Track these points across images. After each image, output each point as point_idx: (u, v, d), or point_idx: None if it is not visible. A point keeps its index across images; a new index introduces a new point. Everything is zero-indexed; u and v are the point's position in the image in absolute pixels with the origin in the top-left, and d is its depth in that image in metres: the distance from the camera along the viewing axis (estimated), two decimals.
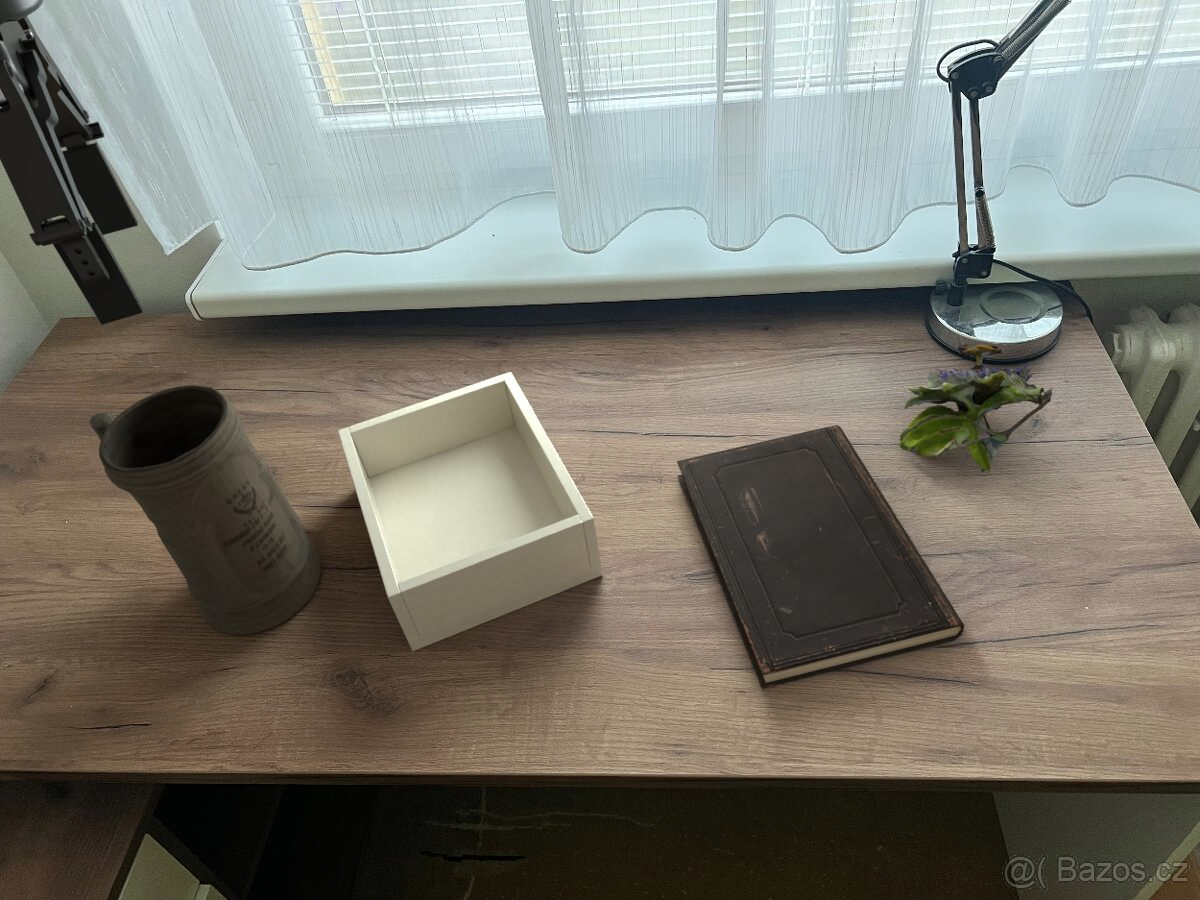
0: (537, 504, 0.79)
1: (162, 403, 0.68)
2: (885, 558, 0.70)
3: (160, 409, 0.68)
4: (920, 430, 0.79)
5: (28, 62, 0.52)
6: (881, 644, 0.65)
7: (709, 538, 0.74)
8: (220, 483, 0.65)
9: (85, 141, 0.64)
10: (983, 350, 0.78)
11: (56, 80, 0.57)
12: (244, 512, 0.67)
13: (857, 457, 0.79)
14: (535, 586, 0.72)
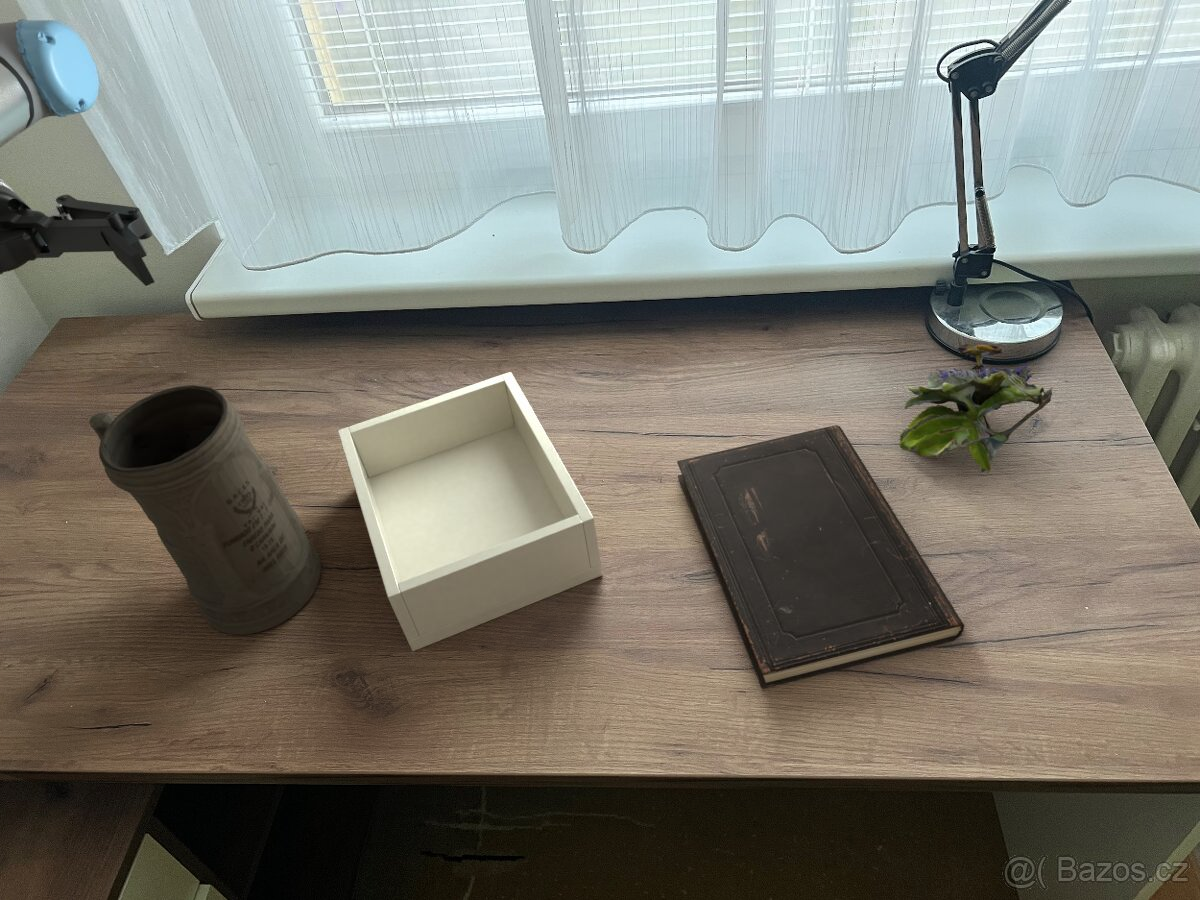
0: (537, 504, 0.79)
1: (162, 403, 0.68)
2: (885, 558, 0.70)
3: (160, 409, 0.68)
4: (920, 430, 0.79)
5: None
6: (881, 644, 0.65)
7: (709, 538, 0.74)
8: (220, 483, 0.65)
9: None
10: (983, 350, 0.78)
11: None
12: (244, 512, 0.67)
13: (857, 457, 0.79)
14: (535, 586, 0.72)
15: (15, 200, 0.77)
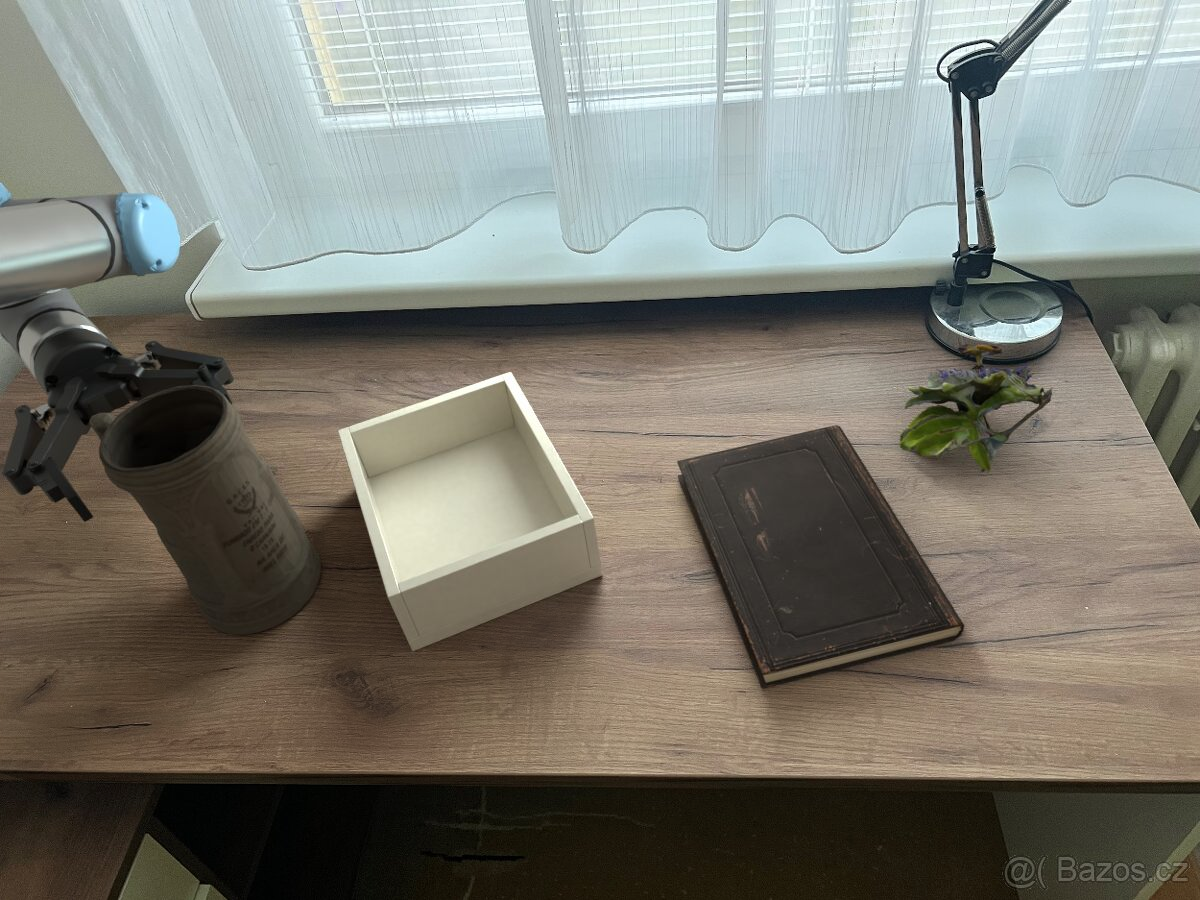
0: (537, 504, 0.79)
1: (162, 403, 0.68)
2: (885, 558, 0.70)
3: (160, 409, 0.68)
4: (920, 430, 0.79)
5: None
6: (881, 644, 0.65)
7: (709, 538, 0.74)
8: (220, 483, 0.65)
9: None
10: (983, 350, 0.78)
11: (89, 428, 0.81)
12: (244, 512, 0.67)
13: (857, 457, 0.79)
14: (535, 586, 0.72)
15: (108, 347, 0.85)
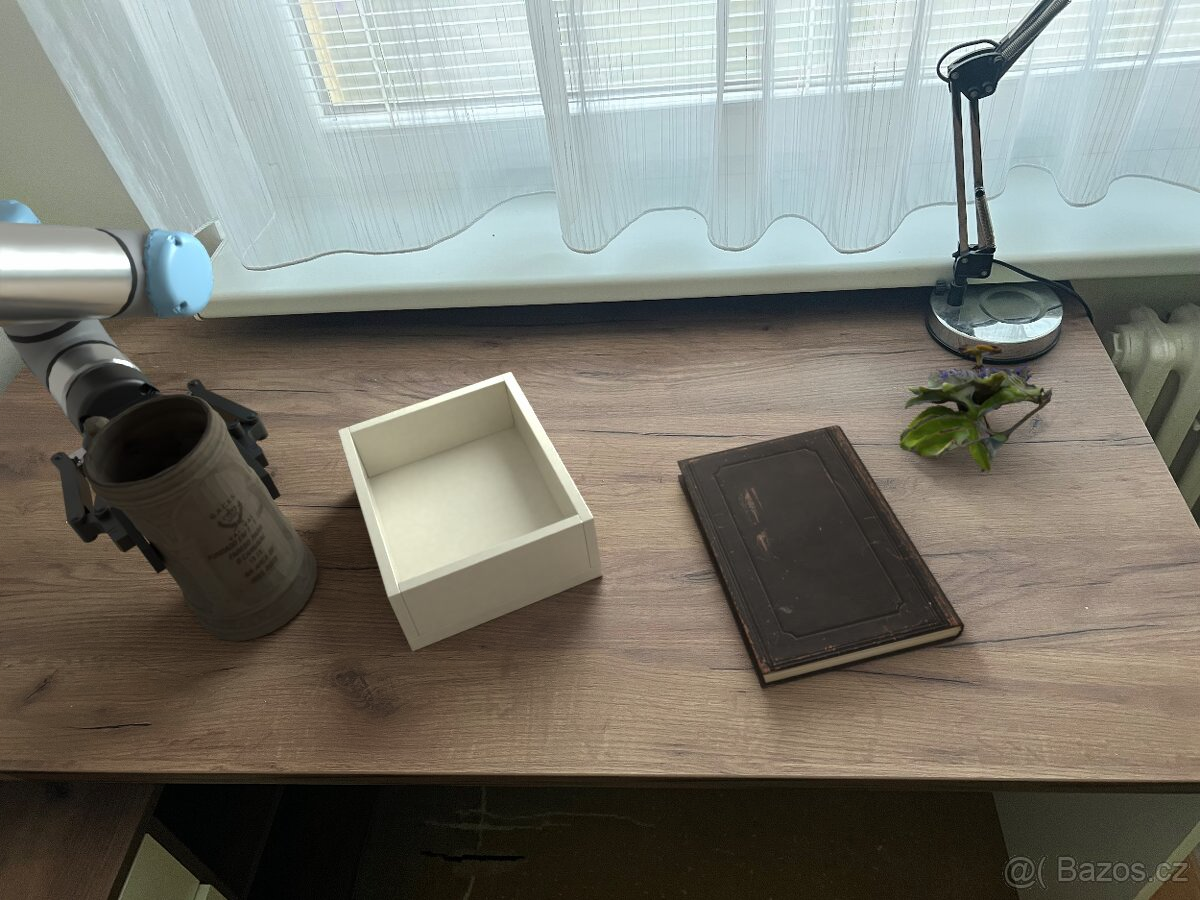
0: (537, 504, 0.79)
1: (152, 410, 0.67)
2: (885, 558, 0.70)
3: (150, 416, 0.67)
4: (920, 430, 0.79)
5: None
6: (881, 644, 0.65)
7: (709, 538, 0.74)
8: (202, 499, 0.63)
9: None
10: (983, 350, 0.78)
11: None
12: (229, 526, 0.66)
13: (857, 457, 0.79)
14: (535, 586, 0.72)
15: (145, 383, 0.79)
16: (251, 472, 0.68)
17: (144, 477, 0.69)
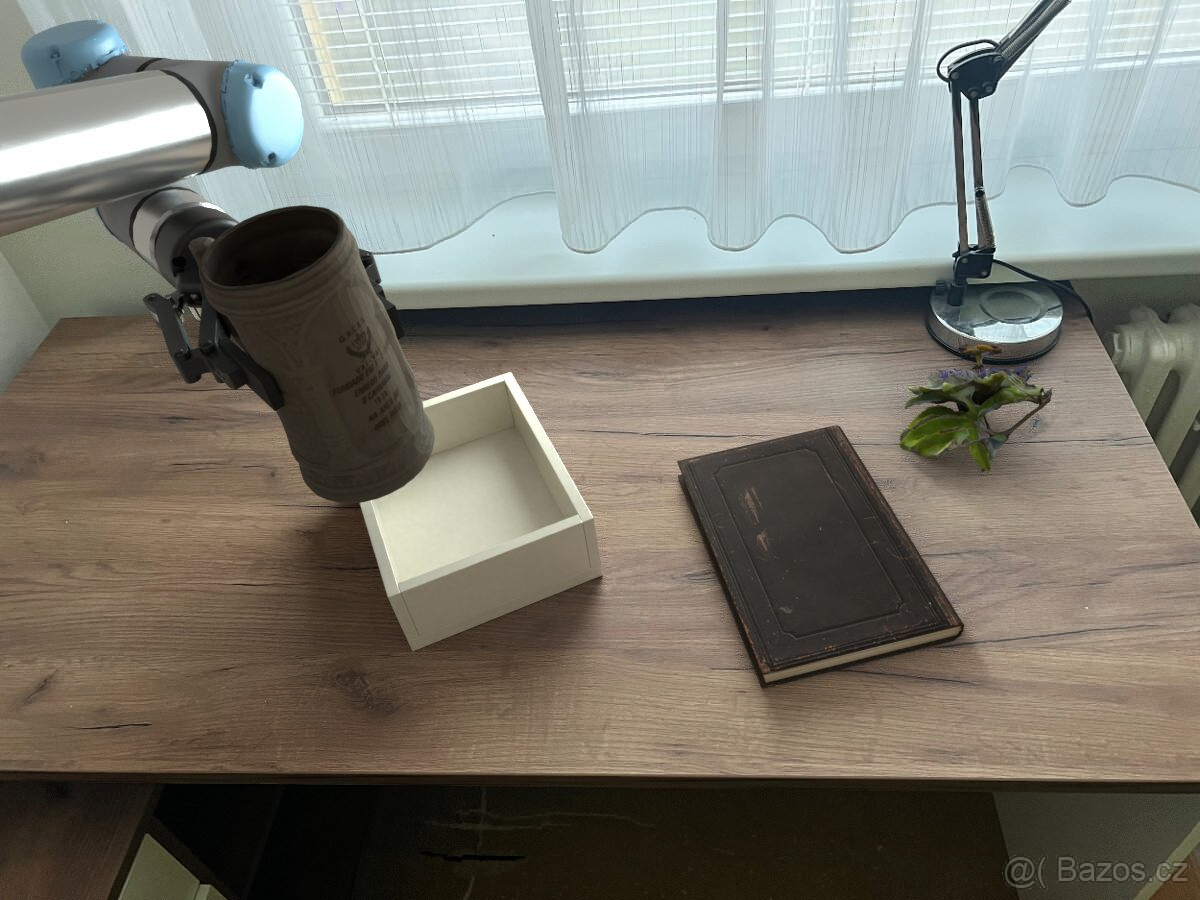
0: (537, 504, 0.79)
1: (269, 226, 0.59)
2: (885, 558, 0.70)
3: (266, 233, 0.59)
4: (920, 430, 0.79)
5: None
6: (881, 644, 0.65)
7: (709, 538, 0.74)
8: (333, 315, 0.55)
9: None
10: (983, 350, 0.78)
11: None
12: (358, 355, 0.58)
13: (857, 457, 0.79)
14: (535, 586, 0.72)
15: None
16: (378, 299, 0.60)
17: None
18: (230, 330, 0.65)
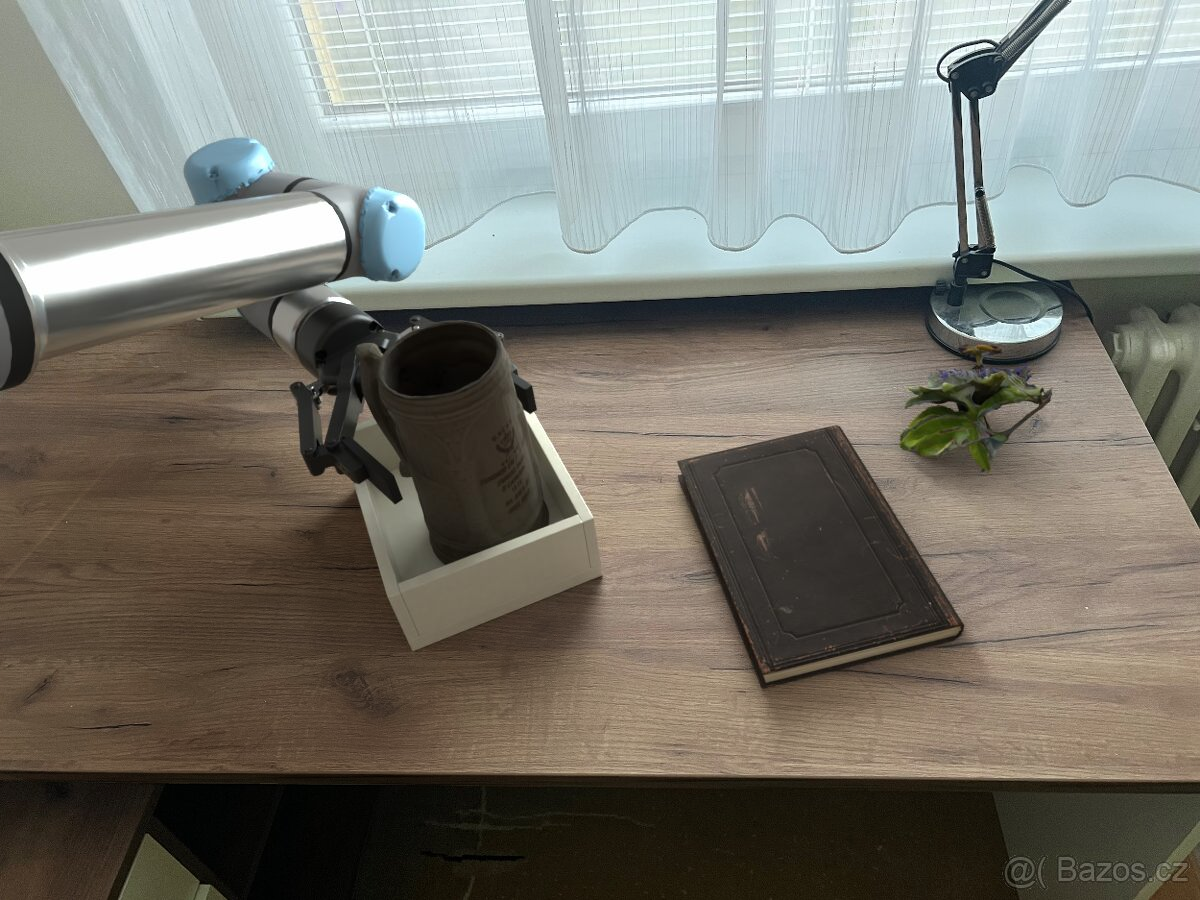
0: None
1: (429, 336, 0.68)
2: (885, 558, 0.70)
3: (425, 343, 0.68)
4: (920, 430, 0.79)
5: None
6: (881, 644, 0.65)
7: (709, 538, 0.74)
8: (490, 419, 0.64)
9: None
10: (983, 350, 0.78)
11: (362, 406, 0.77)
12: (504, 451, 0.67)
13: (857, 457, 0.79)
14: (535, 586, 0.72)
15: (371, 322, 0.80)
16: (519, 401, 0.69)
17: None
18: (378, 419, 0.74)
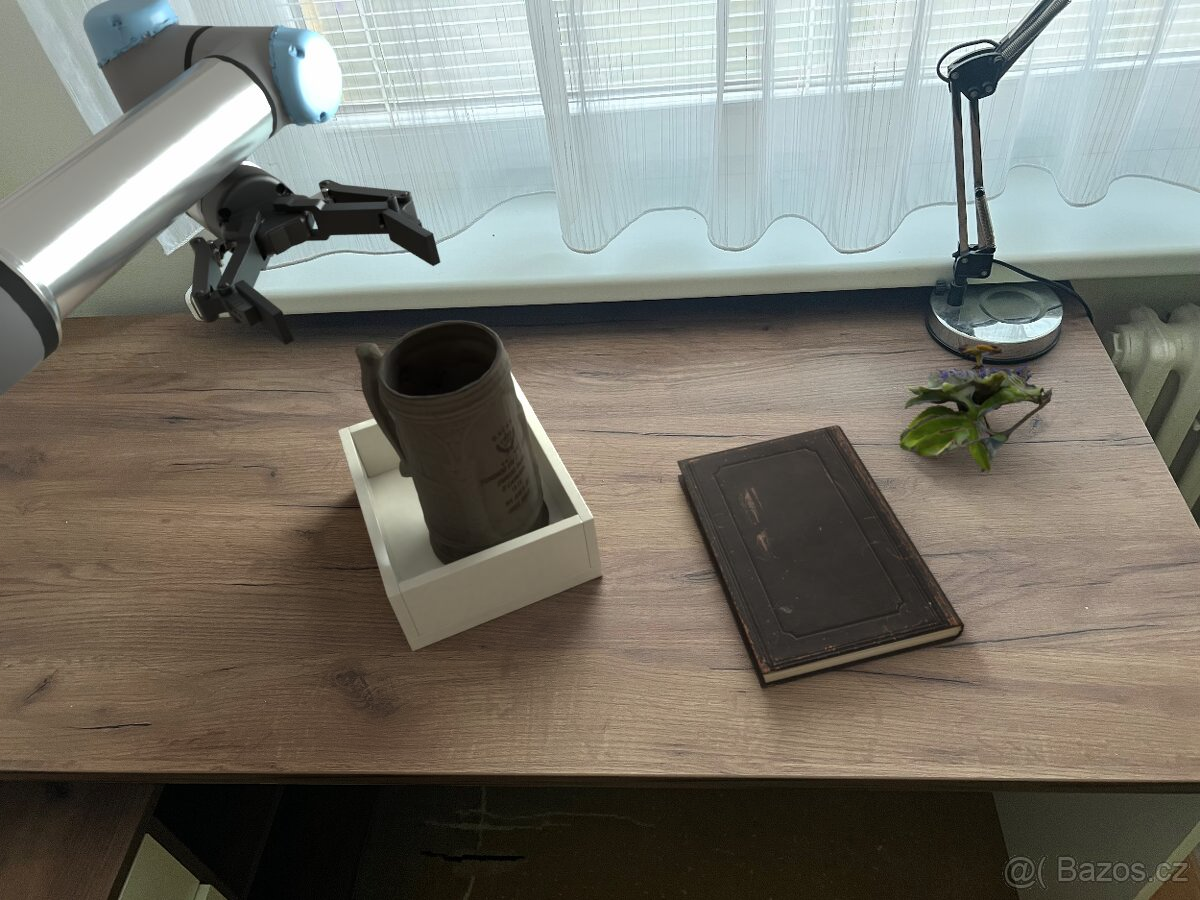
0: None
1: (429, 336, 0.68)
2: (885, 558, 0.70)
3: (425, 343, 0.68)
4: (920, 430, 0.79)
5: None
6: (881, 644, 0.65)
7: (709, 538, 0.74)
8: (490, 419, 0.64)
9: None
10: (983, 350, 0.78)
11: (266, 265, 0.75)
12: (504, 451, 0.67)
13: (857, 457, 0.79)
14: (535, 586, 0.72)
15: (280, 185, 0.78)
16: (519, 401, 0.69)
17: None
18: (378, 419, 0.74)
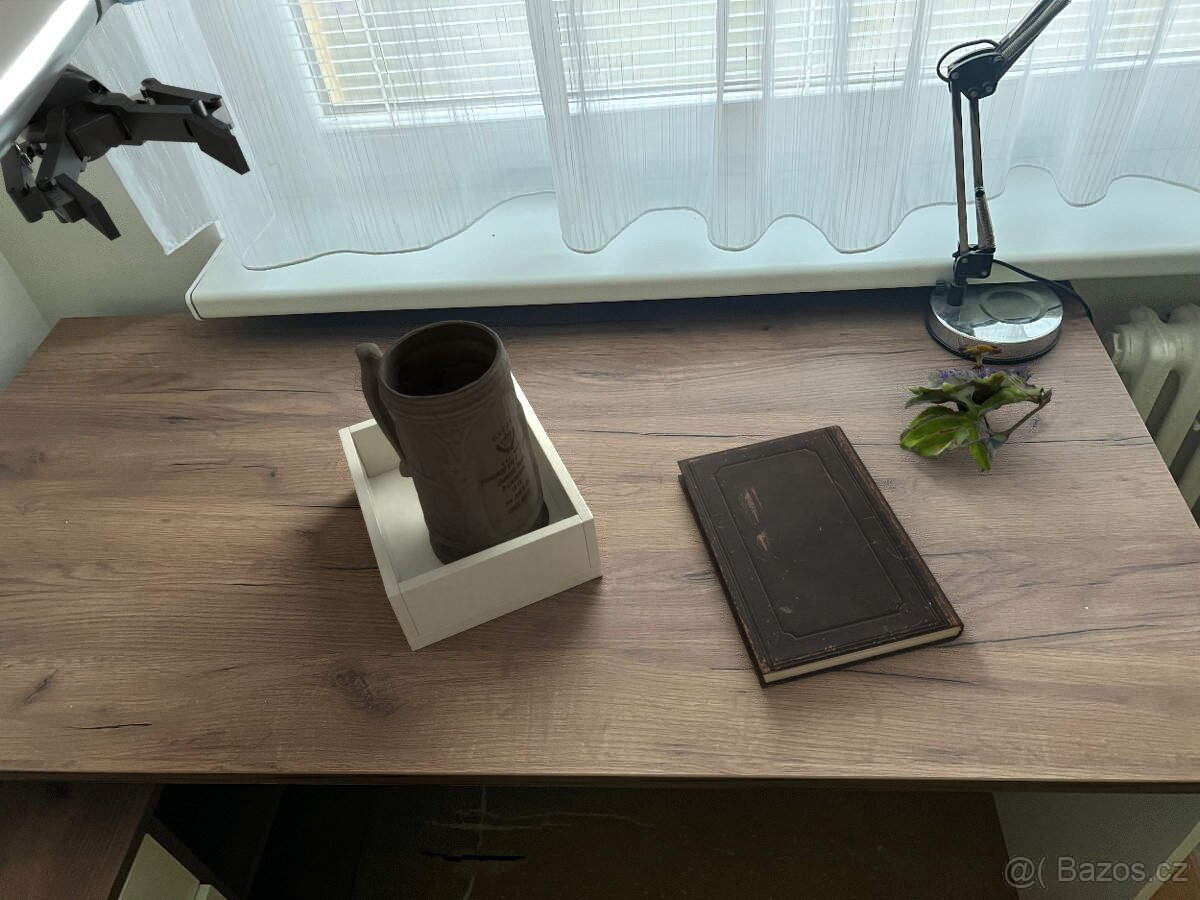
0: None
1: (429, 336, 0.68)
2: (885, 558, 0.70)
3: (425, 343, 0.68)
4: (920, 430, 0.79)
5: None
6: (881, 644, 0.65)
7: (709, 538, 0.74)
8: (490, 419, 0.64)
9: None
10: (983, 350, 0.78)
11: (84, 167, 0.69)
12: (504, 451, 0.67)
13: (857, 457, 0.79)
14: (535, 586, 0.72)
15: (94, 83, 0.72)
16: (519, 401, 0.69)
17: None
18: (378, 419, 0.74)
